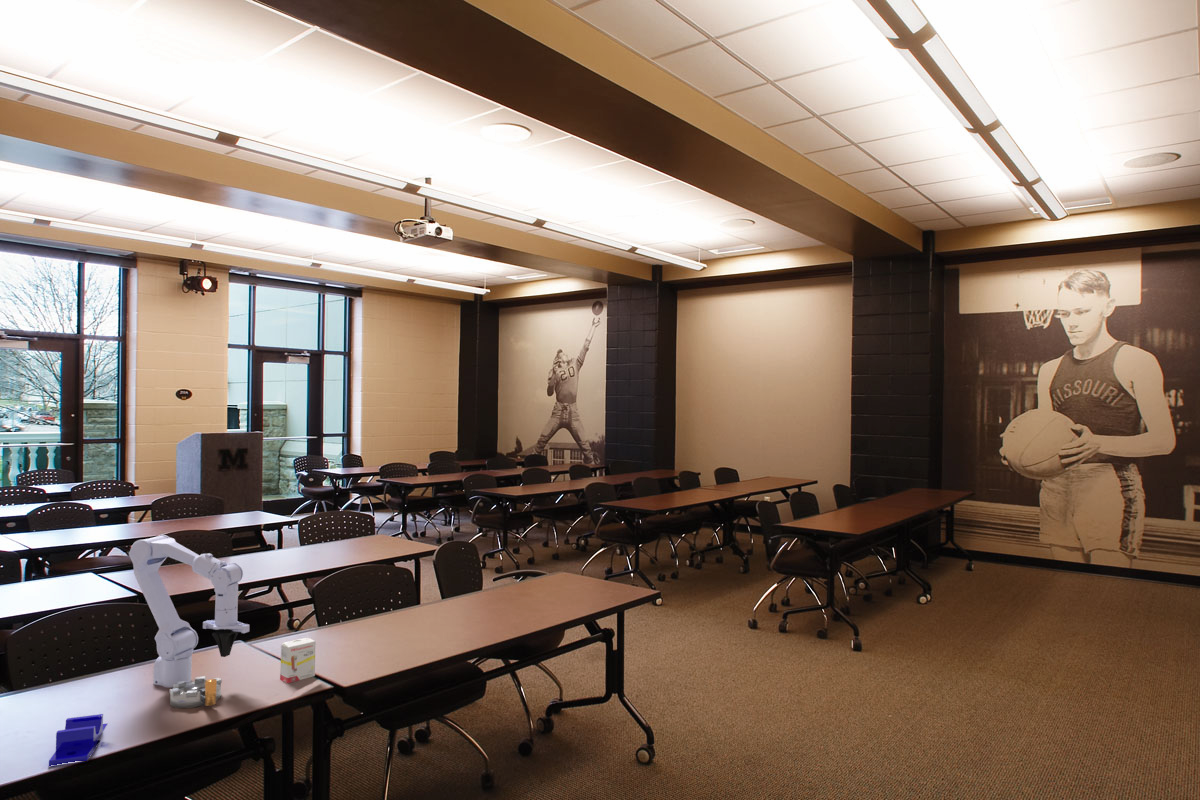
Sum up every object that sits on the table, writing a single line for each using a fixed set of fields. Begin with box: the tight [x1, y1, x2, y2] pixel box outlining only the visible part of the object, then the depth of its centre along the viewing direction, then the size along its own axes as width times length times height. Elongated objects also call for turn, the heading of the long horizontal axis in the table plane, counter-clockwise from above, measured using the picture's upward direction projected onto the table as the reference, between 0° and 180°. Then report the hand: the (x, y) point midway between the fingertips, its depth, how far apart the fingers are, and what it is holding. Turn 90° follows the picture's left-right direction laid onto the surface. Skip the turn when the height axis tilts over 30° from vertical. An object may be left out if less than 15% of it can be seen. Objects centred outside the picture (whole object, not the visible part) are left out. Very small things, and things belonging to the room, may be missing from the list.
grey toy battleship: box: [169, 675, 223, 709], centre depth 193 cm, size 17×12×8 cm
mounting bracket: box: [48, 713, 109, 767], centre depth 169 cm, size 18×7×6 cm, turn 23°
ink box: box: [279, 637, 316, 684], centre depth 211 cm, size 9×5×12 cm, turn 137°
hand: (225, 655), depth 204 cm, fingers closed
